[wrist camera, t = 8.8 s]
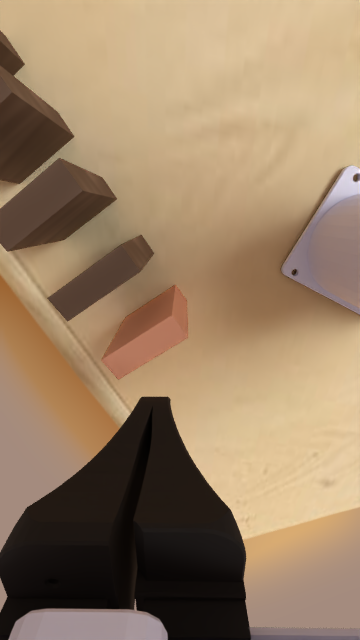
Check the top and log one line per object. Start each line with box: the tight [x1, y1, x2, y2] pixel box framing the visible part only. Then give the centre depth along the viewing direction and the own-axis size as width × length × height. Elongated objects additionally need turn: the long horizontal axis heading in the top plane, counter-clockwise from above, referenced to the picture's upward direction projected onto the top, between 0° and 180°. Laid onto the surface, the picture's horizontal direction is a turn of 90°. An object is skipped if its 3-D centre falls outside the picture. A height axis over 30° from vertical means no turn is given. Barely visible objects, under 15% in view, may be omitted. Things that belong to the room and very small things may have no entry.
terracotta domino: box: [101, 285, 188, 380], centre depth 19 cm, size 2×5×7 cm, turn 124°
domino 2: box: [0, 158, 117, 252], centre depth 16 cm, size 2×5×7 cm, turn 124°
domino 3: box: [48, 235, 154, 321], centre depth 18 cm, size 2×5×7 cm, turn 124°
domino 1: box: [0, 66, 74, 184], centre depth 15 cm, size 2×5×7 cm, turn 124°
